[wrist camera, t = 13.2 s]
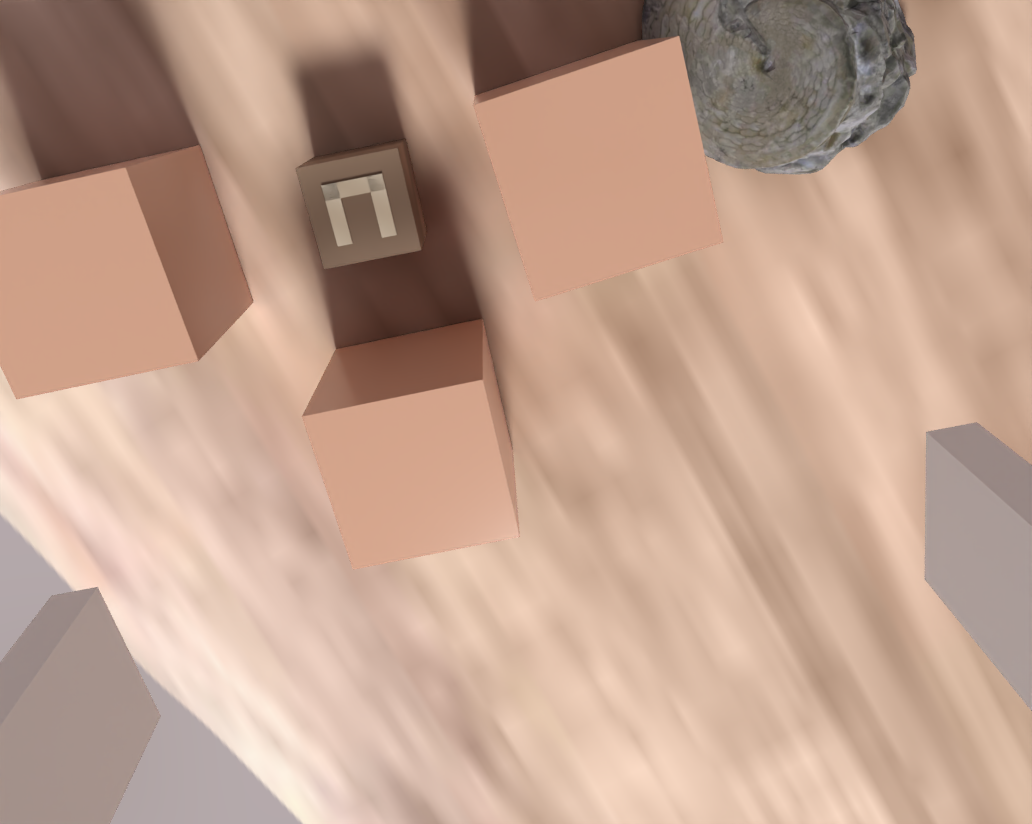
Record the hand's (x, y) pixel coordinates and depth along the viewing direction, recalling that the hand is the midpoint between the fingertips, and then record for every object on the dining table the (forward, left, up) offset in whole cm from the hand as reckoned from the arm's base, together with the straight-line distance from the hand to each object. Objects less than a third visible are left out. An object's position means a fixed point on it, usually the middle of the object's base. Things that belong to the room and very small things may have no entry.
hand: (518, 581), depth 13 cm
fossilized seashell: (-6, +13, -27) cm, 30 cm away
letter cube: (-3, -5, -26) cm, 27 cm away
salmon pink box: (-3, -15, -26) cm, 30 cm away
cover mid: (+7, -5, -26) cm, 27 cm away
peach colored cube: (-3, +4, -26) cm, 27 cm away
